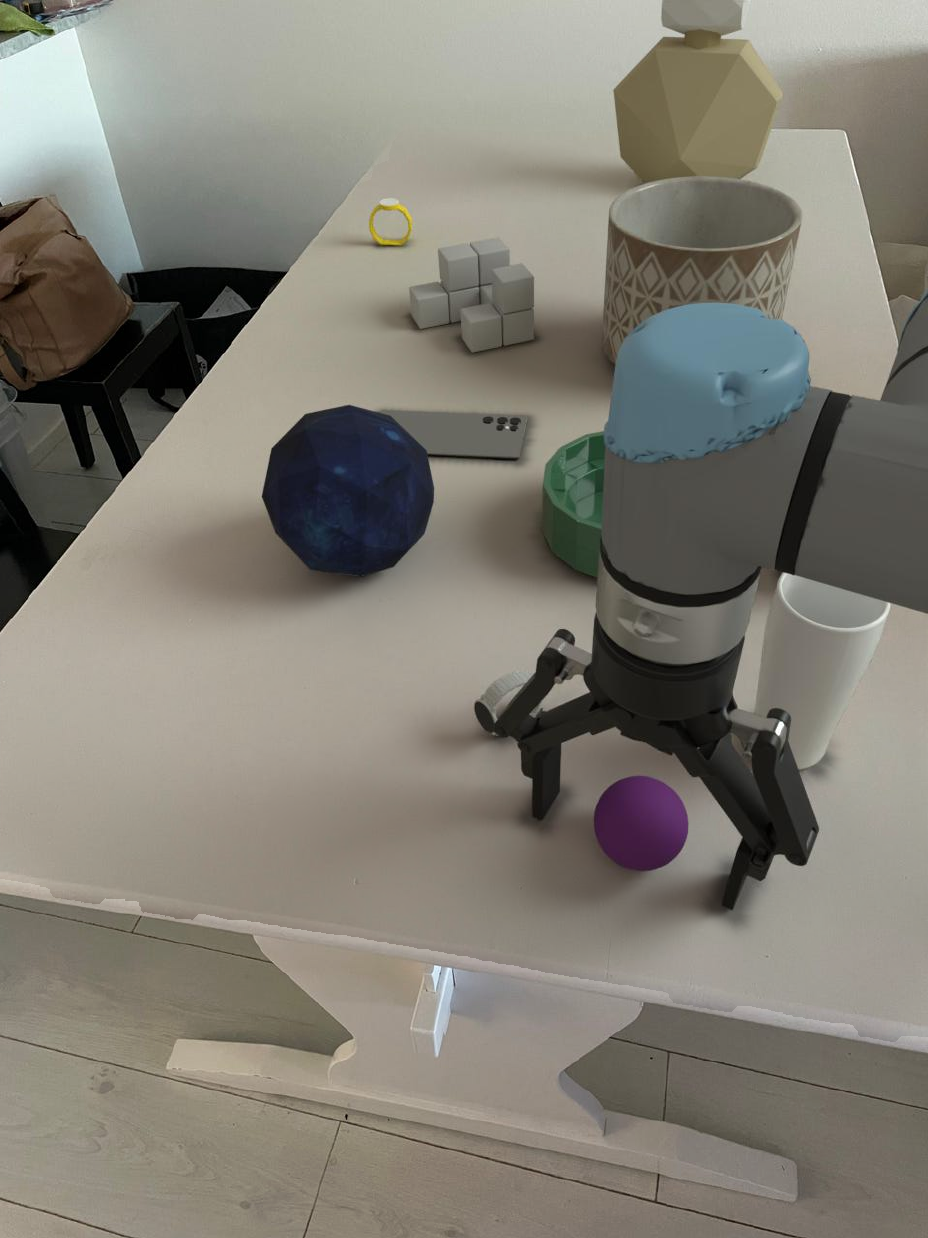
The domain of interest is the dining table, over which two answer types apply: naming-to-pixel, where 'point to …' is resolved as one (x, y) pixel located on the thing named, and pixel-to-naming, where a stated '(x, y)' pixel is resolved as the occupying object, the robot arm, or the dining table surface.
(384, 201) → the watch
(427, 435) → the smartphone
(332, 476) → the decorative orb
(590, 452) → the bowl
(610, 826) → the ball
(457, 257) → the puzzle cube
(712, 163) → the vase
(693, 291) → the planter
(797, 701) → the drinking glass
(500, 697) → the wristwatch
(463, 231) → the dining table surface
